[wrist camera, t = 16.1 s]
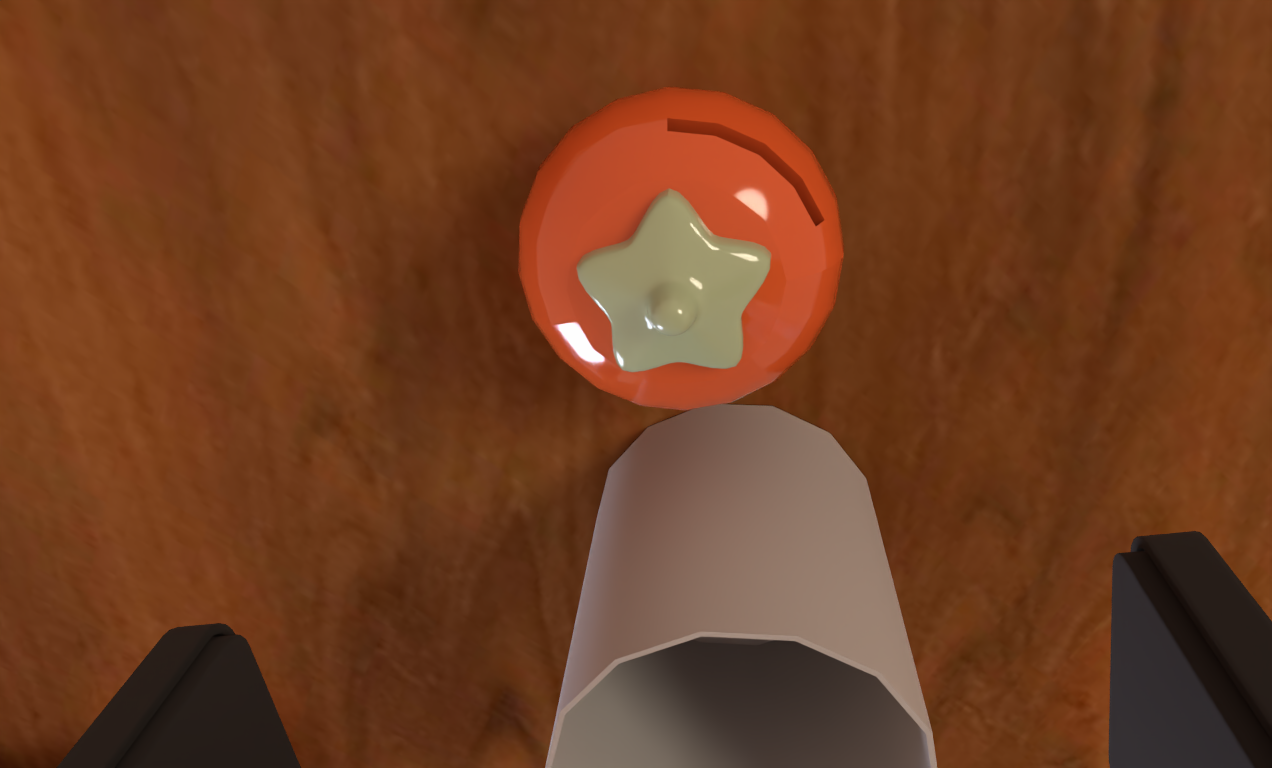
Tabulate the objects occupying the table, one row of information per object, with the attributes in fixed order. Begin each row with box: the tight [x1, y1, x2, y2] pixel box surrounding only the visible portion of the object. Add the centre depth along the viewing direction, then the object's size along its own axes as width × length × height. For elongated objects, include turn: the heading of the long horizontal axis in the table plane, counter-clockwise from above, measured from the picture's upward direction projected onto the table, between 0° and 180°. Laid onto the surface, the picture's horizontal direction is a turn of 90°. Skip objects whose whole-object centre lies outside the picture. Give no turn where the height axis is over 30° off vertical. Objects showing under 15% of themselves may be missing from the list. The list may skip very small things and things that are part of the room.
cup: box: [545, 404, 937, 768], centre depth 25 cm, size 8×8×10 cm
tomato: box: [518, 87, 844, 411], centre depth 22 cm, size 7×7×8 cm
